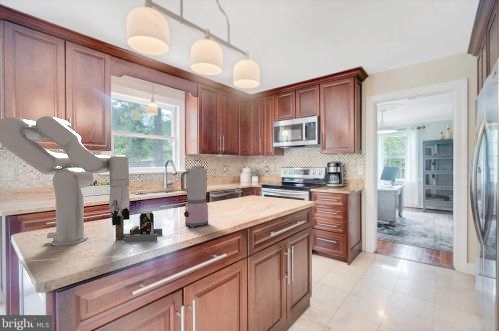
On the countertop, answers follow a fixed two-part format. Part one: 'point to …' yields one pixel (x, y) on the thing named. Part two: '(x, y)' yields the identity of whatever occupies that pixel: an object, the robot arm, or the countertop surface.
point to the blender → (195, 196)
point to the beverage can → (146, 223)
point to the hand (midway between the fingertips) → (121, 222)
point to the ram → (120, 230)
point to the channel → (143, 236)
